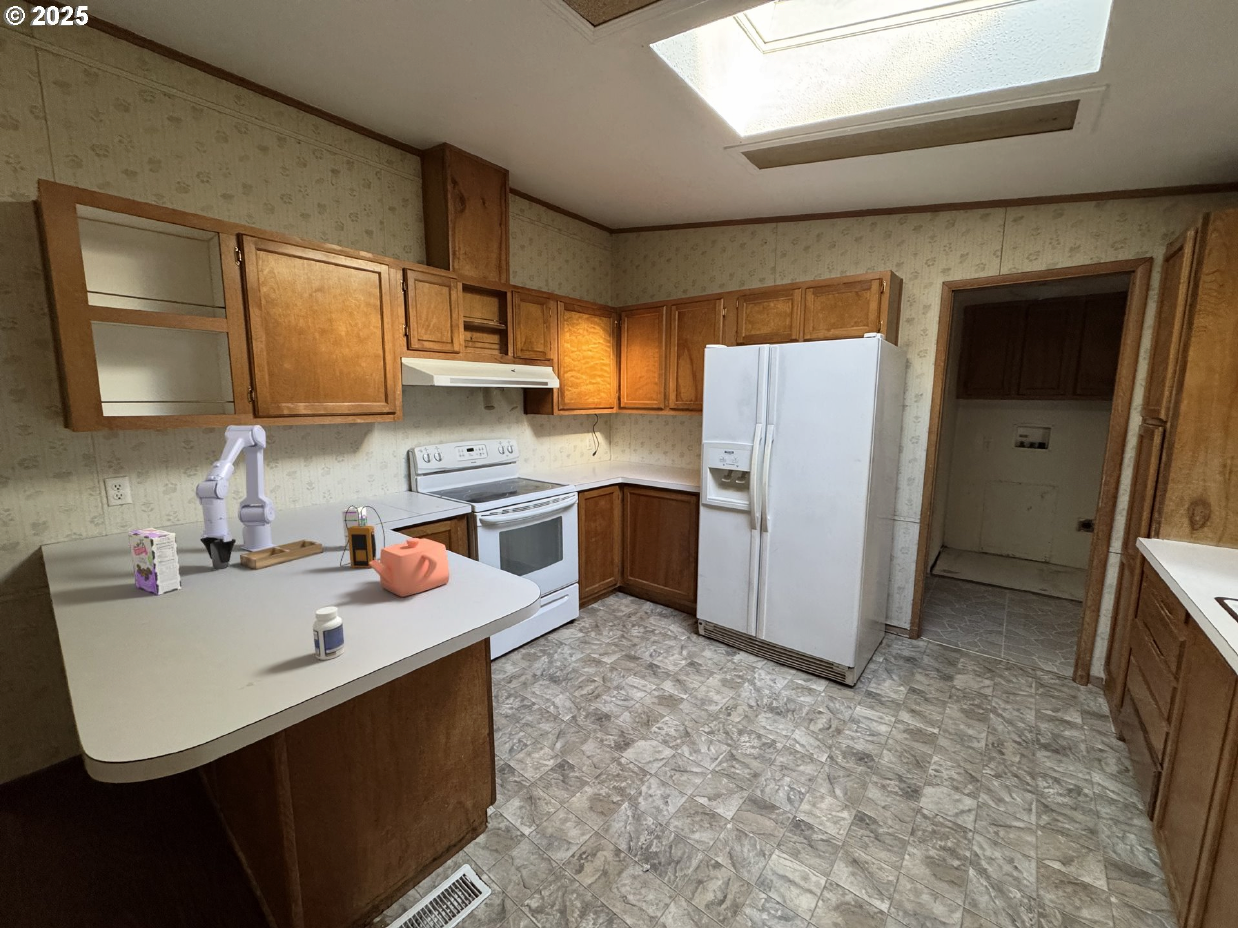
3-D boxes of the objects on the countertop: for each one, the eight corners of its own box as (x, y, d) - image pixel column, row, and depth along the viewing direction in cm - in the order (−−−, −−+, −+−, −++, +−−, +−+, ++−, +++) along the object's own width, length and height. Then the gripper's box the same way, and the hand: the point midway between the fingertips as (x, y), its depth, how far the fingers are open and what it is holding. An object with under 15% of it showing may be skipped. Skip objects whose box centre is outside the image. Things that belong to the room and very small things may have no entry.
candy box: (134, 587, 147) (126, 531, 145) (160, 580, 153) (153, 526, 150) (157, 595, 141) (149, 537, 139) (183, 588, 146) (176, 532, 144)
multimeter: (399, 558, 171) (395, 499, 169) (383, 568, 162) (378, 506, 159) (357, 557, 173) (353, 499, 170) (339, 567, 163) (333, 505, 160)
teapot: (419, 571, 160) (417, 527, 158) (461, 587, 146) (458, 539, 144) (353, 590, 144) (350, 542, 142) (392, 610, 130) (389, 557, 129)
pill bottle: (349, 647, 111) (346, 604, 110) (336, 660, 106) (333, 615, 105) (324, 648, 111) (320, 605, 110) (310, 660, 106) (306, 615, 105)
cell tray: (240, 564, 167) (239, 554, 166) (306, 548, 184) (305, 539, 184) (256, 569, 161) (255, 560, 161) (322, 552, 179) (321, 543, 178)
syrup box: (361, 549, 182) (358, 509, 180) (344, 549, 182) (341, 509, 180) (369, 545, 187) (366, 506, 185) (353, 545, 187) (350, 506, 185)
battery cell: (210, 568, 163) (207, 541, 162) (225, 564, 166) (222, 538, 165) (216, 570, 161) (213, 543, 160) (231, 566, 164) (228, 540, 163)
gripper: (190, 518, 162) (195, 560, 164) (210, 524, 154) (215, 567, 156) (216, 513, 168) (221, 554, 170) (237, 519, 160) (242, 561, 162)
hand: (220, 560), depth 163 cm, fingers open, 7 cm apart
